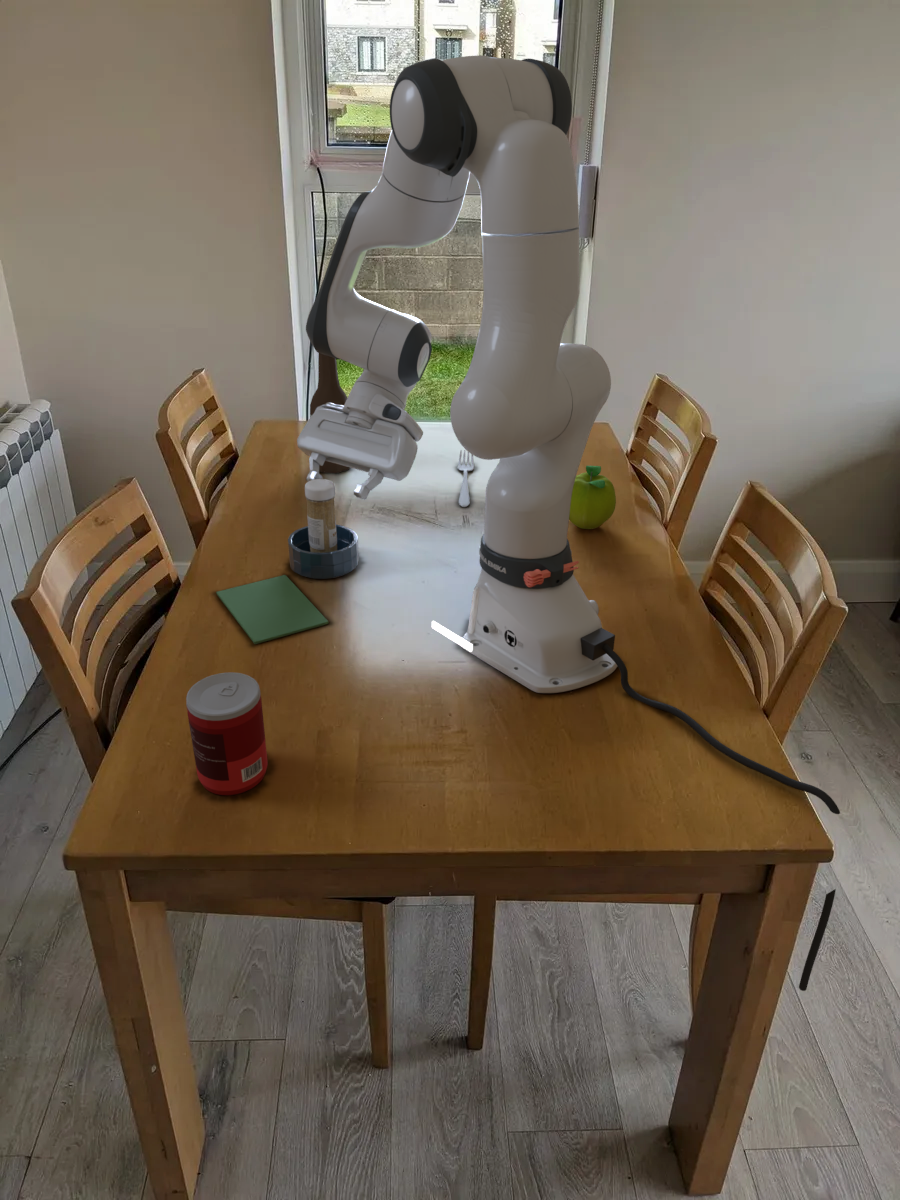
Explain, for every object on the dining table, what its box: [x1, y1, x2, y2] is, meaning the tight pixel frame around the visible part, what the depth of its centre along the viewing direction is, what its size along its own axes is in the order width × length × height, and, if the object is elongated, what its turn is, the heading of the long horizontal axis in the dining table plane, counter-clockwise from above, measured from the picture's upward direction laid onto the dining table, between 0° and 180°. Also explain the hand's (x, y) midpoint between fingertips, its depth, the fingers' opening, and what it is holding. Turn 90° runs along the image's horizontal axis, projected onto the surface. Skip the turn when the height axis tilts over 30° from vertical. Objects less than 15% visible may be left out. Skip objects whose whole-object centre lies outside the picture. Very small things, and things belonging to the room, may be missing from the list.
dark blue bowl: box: [287, 524, 360, 580], centre depth 145 cm, size 11×11×4 cm
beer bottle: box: [309, 353, 350, 474], centre depth 176 cm, size 8×8×24 cm
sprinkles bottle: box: [304, 478, 337, 553], centre depth 143 cm, size 5×5×13 cm
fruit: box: [569, 465, 617, 530], centre depth 158 cm, size 9×9×10 cm
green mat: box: [215, 574, 329, 645], centre depth 134 cm, size 16×11×1 cm
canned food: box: [185, 672, 269, 796], centre depth 100 cm, size 8×8×11 cm
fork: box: [457, 449, 475, 508], centre depth 176 cm, size 3×24×2 cm, turn 178°
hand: (335, 490), depth 143 cm, fingers open, 8 cm apart
